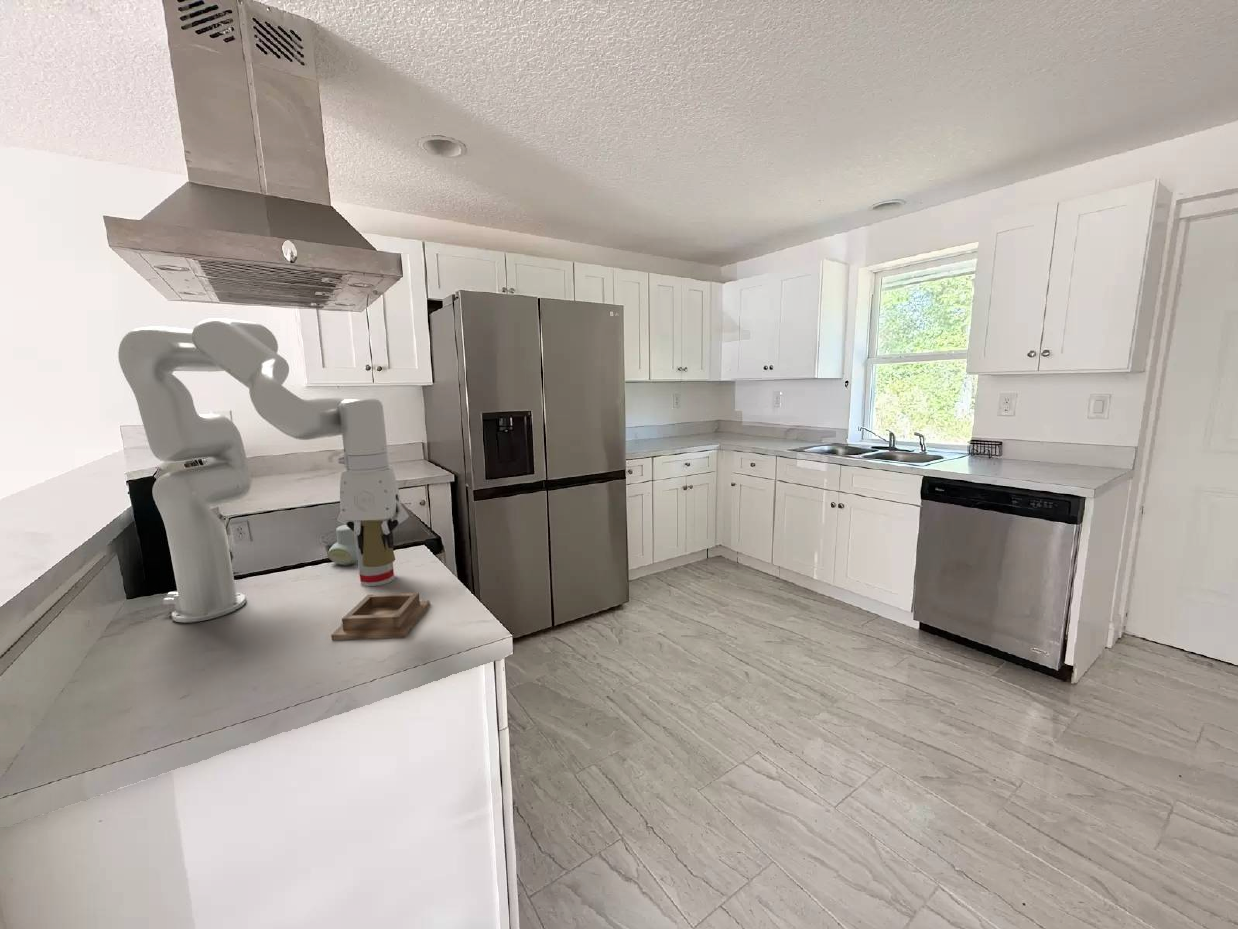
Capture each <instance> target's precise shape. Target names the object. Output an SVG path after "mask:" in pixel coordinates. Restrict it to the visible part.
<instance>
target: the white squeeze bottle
mask: <svg viewBox="0 0 1238 929" xmlns="http://www.w3.org/2000/svg"><path fill="white" fill-rule="evenodd" d="M355 539H356V548H357V557H358V563H357V565H358V573H359V581H360V585H361V586H363V585H364V587H376V586H377V585H378V586H383V585H384V584H389V583H390V582H391V581H393V580H394V579H395V572H394V562H392V563H390V564H387V565H384V566H379V567H365V566H363V564H362V560H363V555H361V551H360V549H359V547H358V538H357V535H355Z"/></svg>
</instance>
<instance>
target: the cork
mask: <svg viewBox="0 0 1238 929" xmlns="http://www.w3.org/2000/svg"><path fill="white" fill-rule="evenodd" d="M360 522H361V524H362V525H363V526H364V534H363V535H364V544H363V560H362V564H363V566H365V567H379V566H384V565H387V564H390V563H392V562H393V563H394V562H395V561H396V556H395V552H394V547H393V548H389V547H388V544H387V540H386V552H385V548H384V545H383V541H382V537H381V535H383V534H384V533H383V530H382V526H381V525H382V524H383V521H360Z"/></svg>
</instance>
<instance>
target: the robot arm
mask: <svg viewBox="0 0 1238 929" xmlns="http://www.w3.org/2000/svg"><path fill="white" fill-rule="evenodd" d="M278 351H279V344H278V340H277V338H276V336H275V335H274V333H273V332H272V331H270V329H268V327H266V326H264V325H262V324H260V323H257V322H252V321H246V320H237V319H236V320H235V319H231V318H230V319H229V318H220V317H219V318H215V317H214V318H207V319H204V320H202V321H199V323H197V324H196V325H195V326H194V327H193V329H187V328H180V327H179V328H178V327H168V326H146V327H144V326H143V327H139V328H135V329H133V330H130V331H129V332H128V333H126V334H125V336H123V338H122V339H121V341H120V343H119V346H118V354H117V355H118V362H119V366H120V369H121V372H122V374H123V376H124V378H125V380H126V382H127V383H128V385H129V387H130V388H131V390H132V392H133V395H134V397H135V400H136V404H137V406H138V411H139V415H140V418H141V421H142V422H141V423H142V424H143V427H144V429H143V430H144V432H145V435H146V438H147V442H148V445H149V448H150V450H151V453H152V454H153V456H154V457H155V458H156V459H158V460H159V461H161V462H165V463H182V462H191V461H196V460H203V459H205V462H206V464H202V465H201V464H200V465H196V466H189V467H185V468H184V467H183V468H178V469H175V470H171V471H169V472H166V473H164V474H163V475H160V476H159V477H158V478H157V479H156V480H155V482H154V484H153V485H152V489H151V490H152V492H151V493H152V498H153V501H154V502H155V505H156V508H157V509H158V510H157V511H158V512H159V513H160V516H161V519H162V521H163V524H164V528H165V531H166V537H167V542H168V547H169V552H170V557H171V564H172V569H173V573H174V574H173V575H174V580H175V585H176V590H177V591H169V592H168V593H167V594H166V597H165V598H163V600H162V603H163V605H174V610H173V611H172V612H171V618H172V620H173V621H174V622H176V623H185V624H187V623H197V622H198V623H199V622H203V621H204V622H205V621H208V620H213V619H215V618H220V617H222V616H226V615H229V614H230V613H232V612H235V611H237V610H239V609H240V608H242V607H243V606H244V605H245V604H246V603H247V598H246V595H245V594H244V593H240V592H237V588H236V584H235V577H234V572H233V570H234V569H233V565H232V559H231V553H230V552H231V551H230V547H229V541H228V534H227V530H226V527H225V524H224V523H223V521H222V520H221V519H220V518H219V517H218V515H216V514H215V513H214V512H213V509H215V508H218V507H221V506H225V505H228V504H232V503H235V502H239V501H241V500H244V499H245V498H246V497H247V496H248V495H249V494H250V493H251V489H252V485H253V484H252V475H251V471H250V466H249V462H248V459H247V454H246V450H245V447H244V443H243V439H242V436H241V433H240V430H239V429H238V427H237V425H236V424H235V423H234V421H233V420H231V419H229V417H226V416H225V415H222V414H216V413H204V414H202V413H201V414H198V412H197V410H196V407H195V405H194V404H195V403H194V400H193V397H192V394H191V392H190V391H189V389H188V388H187V386H186V385H185V384H184V383H183V382H182V381H181V380H180V379H179V378H178V377H176V376H175V375H174V374H173V373H174V372H209V373H210V372H212V373H213V372H225V373H227V374H229V376H231V377H233V378H234V379H235V380H237V381H238V382H240V383H241V385H244V386H245V387H247V388H248V390H249V392H248V394H249V397H250V401H251V403H252V406H253V408H254V410H255V411H256V412H257V413H258V414H259V416H260V417H261V418H262V419H264V420H265V421H266V422H267V423H269V425H271V426H273V427H274V428H276V429H277V430H279V431H280V432H281V433H283V434H285V435H286V436H289V437H290V438H293V439H296V440H301V441H309V440H310V441H311V440H317V439H318V440H319V439H322V438H323V439H324V438H331V437H338V436H342V438H341V439H342V446H343V453H344V454H343V456H340V457H338V463H339V464H340V465H341V464H342V465H344V468H345V469H344V470H342V471H341V475H340V482H339V485H340V486H339V504H340V505H339V507H340V508H339V509H340V512H339V514H338V515H337V518H336V520H337V521H338V523H341V524H342V525H347V526H348V527H349V528H350V529H351V530H352V531H354V534H355V535H357V538H358V547H359V549H360V551H361V555H363V544H364V535H363V534H364V526H363V525H362V524H361V522H360V521H383V524H382V525H381V526H382V530H383V533H384V534H383V535H381V537H382V541H383V545H384V548H385V552H386V540H387V544H388V547H389V548H393V549H394V545H395V543H394V533H393V531H394V530H395V529H396V528H397V526H399V525H400V524H401V523H402V522H404V521H406V520H407V519H408V518H410V516H409V515H410V514H408V512H407V510H406V509H405V508H404V507H403V506H402V503H401V497H400V496H401V495H400V490H399V486H398V481H397V478H396V474H395V471H394V468H393V467H392V466H390V462H389V453H388V442H387V433H386V422H385V413H384V406H383V403H382V401H381V400H379V399H378V398H342V397H321V398H319V397H318V398H317V397H316V398H304V399H303V398H301V397H299V396H297V395H295V393H292V392H291V390H289V389H287V388H286V387H284V385H283V384H284V383H285V382H286V380H287V378H288V376H289V372H290V366H289V363H288V362H287V360H286V358H284V357H283V356H281V355H280V354H279V353H278ZM395 515H397V517H396V518H394V517H395ZM393 518H394V519H393ZM236 609H237V610H236Z"/></svg>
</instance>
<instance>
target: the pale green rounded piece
mask: <svg viewBox="0 0 1238 929" xmlns="http://www.w3.org/2000/svg"><path fill="white" fill-rule="evenodd" d="M335 530H336V541H337V542H335V543H334V544H333V545H332V546H331V547H330V548H329V550H328V552H327V556H328V559H329V560H331V562H333V563H335V564H338V565H342V566H351V565H355V564H358V557H357V548H356V539H355V534H354V531H352V530H351V529H350V528H349V527H348V526H347V525H344V524H342V525H340V526H338V527H337V528H336V529H335Z"/></svg>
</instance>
